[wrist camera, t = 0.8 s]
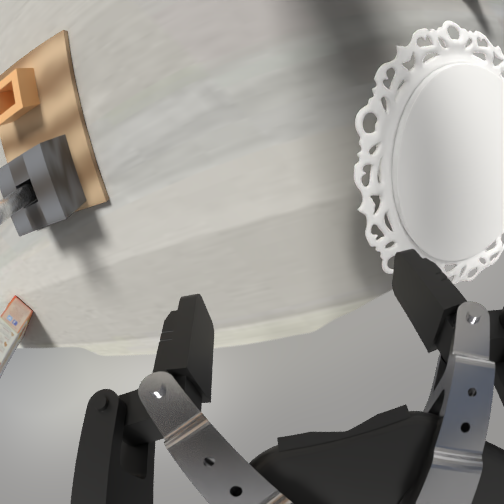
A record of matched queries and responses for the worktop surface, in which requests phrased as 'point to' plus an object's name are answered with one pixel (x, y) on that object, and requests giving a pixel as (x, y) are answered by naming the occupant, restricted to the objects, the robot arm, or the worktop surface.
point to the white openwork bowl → (437, 154)
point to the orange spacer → (17, 94)
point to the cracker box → (12, 329)
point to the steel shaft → (16, 201)
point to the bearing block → (50, 144)
